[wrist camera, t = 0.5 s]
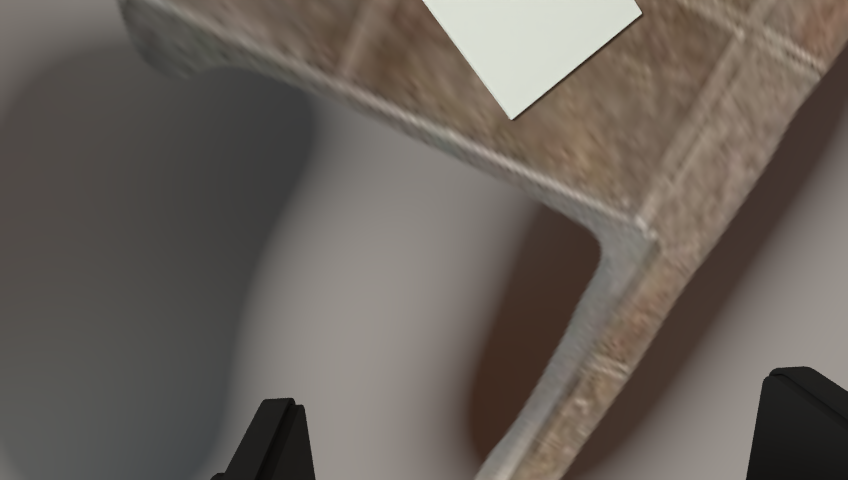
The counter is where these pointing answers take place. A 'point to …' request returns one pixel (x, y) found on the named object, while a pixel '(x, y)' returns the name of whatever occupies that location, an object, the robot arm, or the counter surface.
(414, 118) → the counter surface
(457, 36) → the rubber mat
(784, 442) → the robot arm
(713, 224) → the counter surface
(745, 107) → the counter surface
